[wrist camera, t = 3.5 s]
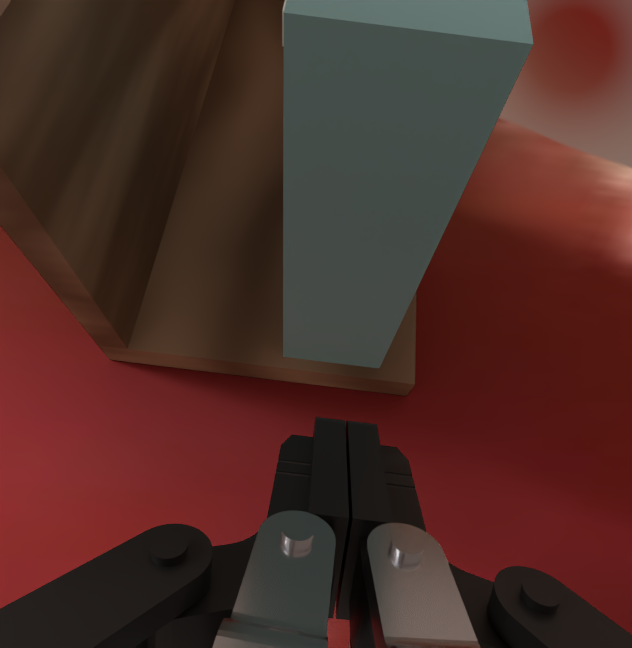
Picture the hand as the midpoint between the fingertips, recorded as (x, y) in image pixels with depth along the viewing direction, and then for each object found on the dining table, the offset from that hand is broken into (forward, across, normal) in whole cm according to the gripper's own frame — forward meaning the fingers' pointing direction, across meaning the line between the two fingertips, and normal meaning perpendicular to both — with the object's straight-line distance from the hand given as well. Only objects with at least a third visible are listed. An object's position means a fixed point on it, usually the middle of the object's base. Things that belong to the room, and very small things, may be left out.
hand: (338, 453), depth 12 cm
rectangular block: (+12, 0, -3) cm, 13 cm away
